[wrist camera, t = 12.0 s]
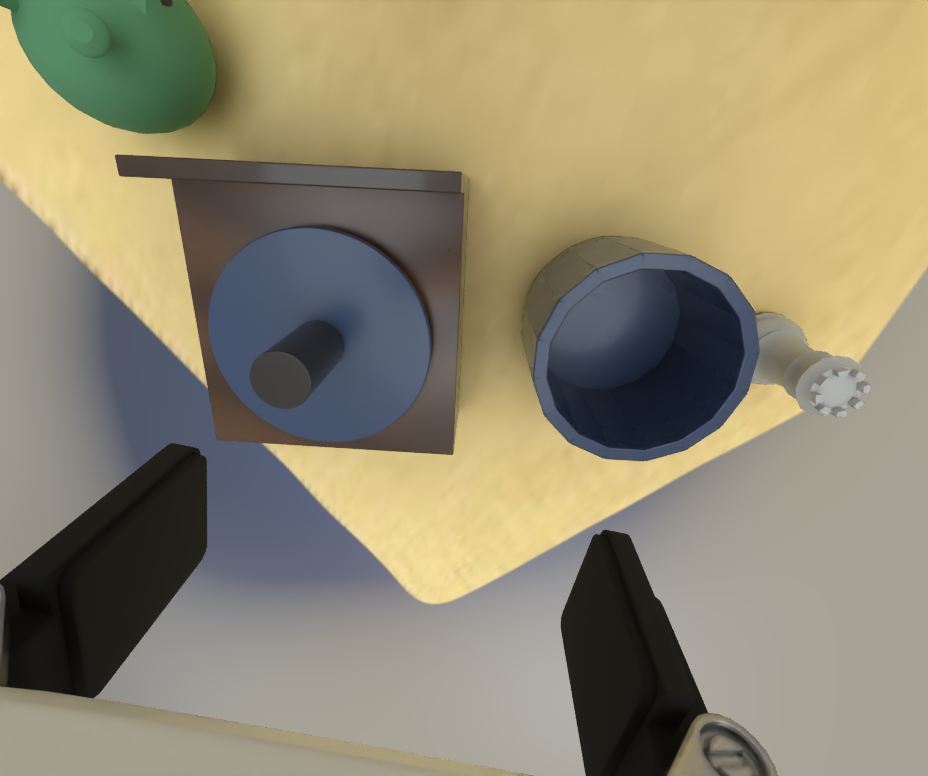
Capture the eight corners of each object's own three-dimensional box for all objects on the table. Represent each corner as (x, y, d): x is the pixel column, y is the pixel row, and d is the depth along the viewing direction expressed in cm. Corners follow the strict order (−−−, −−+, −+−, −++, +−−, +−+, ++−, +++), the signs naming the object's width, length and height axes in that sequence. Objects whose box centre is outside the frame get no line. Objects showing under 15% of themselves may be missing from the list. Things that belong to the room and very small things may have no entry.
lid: (203, 219, 23) (111, 228, 18) (435, 231, 23) (419, 245, 17) (235, 426, 28) (170, 488, 22) (430, 438, 27) (416, 503, 22)
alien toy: (257, 7, 25) (121, -101, 16) (233, 160, 28) (107, 145, 19) (121, -50, 24) (-103, -197, 15) (112, 114, 27) (-82, 74, 18)
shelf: (230, 165, 28) (113, 154, 19) (469, 177, 28) (461, 171, 19) (260, 399, 34) (181, 473, 25) (458, 411, 33) (448, 489, 25)
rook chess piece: (800, 309, 30) (904, 348, 22) (785, 375, 31) (878, 433, 24) (726, 312, 30) (804, 352, 23) (716, 378, 32) (786, 435, 24)
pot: (530, 231, 29) (547, 247, 21) (704, 240, 28) (788, 260, 21) (514, 390, 33) (524, 454, 25) (667, 399, 32) (726, 467, 25)
